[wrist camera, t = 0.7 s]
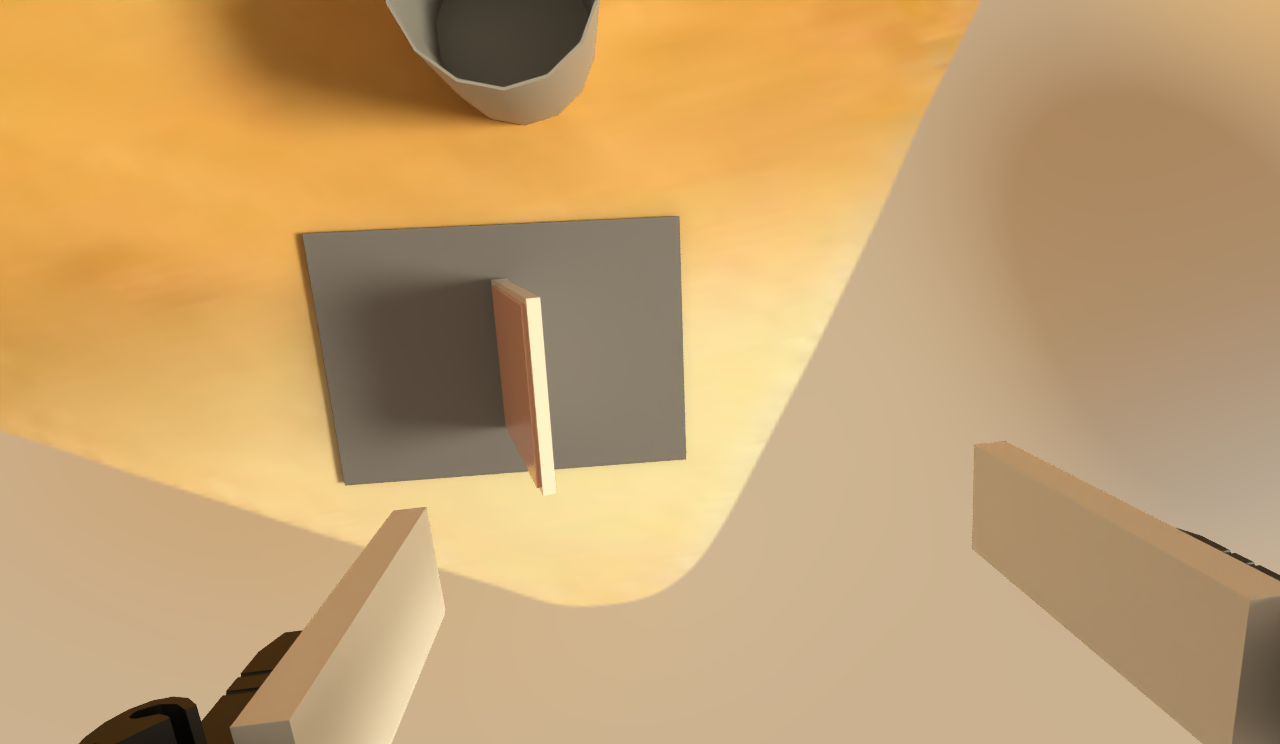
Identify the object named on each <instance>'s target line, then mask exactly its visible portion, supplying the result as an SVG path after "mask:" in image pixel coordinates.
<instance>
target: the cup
mask: <svg viewBox="0 0 1280 744" xmlns="http://www.w3.org/2000/svg"><path fill="white" fill-rule="evenodd" d="M599 2H600V0H386V4H387V6H388V8H389V9H390V11H391V13H392V14H393V16H394V18H395V20H396V21H397V23H398V25H399V26H400V28H401V30H402V31H403V33H404V35H405V36H406V38H407V40H408V41H409V43H410V45H411V46H412V48H413V50H414V51H415V52H416V53H417V54H418V55H419V56H420V57H421V58H422V59H423V60H424V61H425V62H426V63H427V64H428V65H429V66H430V67H431V68H432V69H433V70H434V71H435V72H436V73H437V74H438V75H439V76H440V77H441V78H442V79H443V80H444V81H445V82H446V83H447V84H448V85H449V86H450V87H451V88H452V89H453V90H454V91H455V92H456V93H457V94H458V95H459V96H460V97H461V98H462V99H463V100H465V101H466V102H468V103H469V104H470V105H472V106H473V107H475V108H476V109H477V110H479V111H480V112H482V113H483V114H484V115H486V116H487V117H488V118H490V119H493V120H499V121H504V122H509V123H515V124H520V125H528V124H531V123H534V122H538V121H541V120H544V119H548V118H551V117H554V116H557V115H558V114H560V113H561V112H562V111H563V110H564V109H565V108H566V107H567V106H568V105H569V104H570V103H571V102H572V101H573V100H574V99H575V98H576V97H577V96H578V95H579V94H580V93H581V92H582V90H583V88H584V85H585V82H586V79H587V76H588V74H589V71H590V68H591V65H592V63H593V60H594V56H595V45H596V34H597V23H598V13H599Z"/></svg>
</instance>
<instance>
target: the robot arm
mask: <svg viewBox="0 0 1280 744" xmlns="http://www.w3.org/2000/svg"><path fill="white" fill-rule="evenodd" d="M973 485H974V486H973V532H972V549H973V550H974V551H975V552H977V553H978V554H979V555H980V556H981V557H983V558H984V559H985V560H986V561H987V562H988V563H990V564H991V565H992V566H993V567H994V568H996V569H997V570H998V571H999V572H1000V573H1002V574H1003V575H1004V576H1005V577H1006V578H1007V579H1009V580H1010V581H1011V582H1012V583H1013V584H1015V585H1016V586H1017V587H1018V588H1019V589H1020V590H1022V591H1023V592H1024V593H1025V594H1026V595H1028V596H1029V597H1030V598H1031V599H1032V600H1033V601H1035V602H1036V603H1037V604H1038V605H1039V606H1040V607H1042V608H1043V609H1044V610H1045V611H1046V612H1048V613H1049V614H1050V615H1051V616H1052V617H1054V618H1055V619H1056V620H1057V621H1058V622H1059V623H1061V624H1062V625H1063V626H1064V627H1065V628H1067V629H1068V630H1069V631H1070V632H1071V633H1073V634H1074V635H1075V636H1076V637H1077V638H1078V639H1080V640H1081V641H1082V642H1083V643H1084V644H1086V645H1087V646H1088V647H1089V648H1090V649H1091V650H1093V651H1094V652H1095V653H1096V654H1097V655H1098V656H1100V657H1101V658H1102V659H1103V660H1104V661H1106V662H1107V663H1108V664H1109V665H1110V666H1112V667H1113V668H1114V669H1115V670H1116V671H1117V672H1119V673H1120V674H1121V675H1122V676H1123V677H1124V678H1126V679H1127V680H1128V681H1129V682H1130V683H1132V684H1133V685H1134V686H1135V687H1137V689H1139V690H1140V691H1141V692H1142V693H1144V694H1145V695H1146V696H1147V697H1148V698H1149V699H1150V700H1152V701H1153V702H1154V703H1155V704H1156V705H1158V706H1159V707H1160V708H1161V709H1162V710H1164V711H1165V712H1166V713H1167V714H1168V715H1170V716H1171V717H1172V718H1173V719H1174V720H1175V721H1176V722H1178V723H1179V724H1180V725H1181V726H1182V727H1184V728H1185V729H1186V730H1187V731H1189V732H1190V733H1191V734H1192V735H1193V736H1194V737H1195V738H1197V739H1198V740H1199V741H1200V742H1201V743H1203V744H1280V575H1278V574H1276V573H1274V572H1272V571H1270V570H1268V569H1266V568H1264V567H1262V566H1260V565H1259V566H1255V564H1254V562H1252V561H1250V560H1248V559H1246V558H1244V557H1242V556H1240V555H1238V554H1236V553H1232V554H1231V552H1230V550H1228V549H1226V548H1224V547H1223V546H1221V545H1219V544H1217V543H1215V542H1213V541H1211V540H1208V539H1207V538H1205V537H1203V536H1200V535H1197V534H1194V533H1191V532H1188V531H1184V530H1181V529H1178V528H1175V527H1173V526H1170V525H1169V524H1167V523H1165V522H1163V521H1161V520H1159V519H1157V518H1155V517H1153V516H1151V515H1149V514H1147V513H1145V512H1143V511H1141V510H1139V509H1137V508H1135V507H1133V506H1131V505H1129V504H1127V503H1126V502H1124V501H1122V500H1120V499H1117V498H1116V497H1114V496H1112V495H1110V494H1108V493H1106V492H1104V491H1102V490H1100V489H1098V488H1096V487H1094V486H1092V485H1090V484H1088V483H1086V482H1084V481H1082V480H1080V479H1078V478H1077V477H1074V476H1073V475H1071V474H1069V473H1067V472H1065V471H1063V470H1061V469H1059V468H1057V467H1055V466H1053V465H1051V464H1049V463H1047V462H1045V461H1043V460H1041V459H1039V458H1037V457H1035V456H1033V455H1031V454H1029V453H1027V452H1025V451H1024V450H1022V449H1020V448H1018V447H1016V446H1014V445H1012V444H1010V443H1008V442H1006V441H1001V442H993V443H984V444H976V445H974V481H973ZM444 615H445V606H444V601H443V595H442V590H441V585H440V579H439V573H438V568H437V562H436V557H435V551H434V546H433V540H432V535H431V529H430V524H429V518H428V513H427V507H421V508H413V509H404V510H395V511H393V512H392V513H391V514H390V516H389V517H388V518H387V520H386V521H385V522H384V524H383V525H382V526H381V528H380V529H379V530H378V532H377V533H376V534H375V536H374V537H373V538H372V540H371V541H370V542H369V544H368V545H367V546H366V548H365V549H364V550H363V552H362V553H361V554H360V556H359V557H358V558H357V560H356V561H355V562H354V564H353V565H352V566H351V567H350V569H349V570H348V571H347V573H346V574H345V575H344V577H343V578H342V579H341V581H340V582H339V583H338V585H337V586H336V587H335V589H334V590H333V591H332V593H331V594H330V595H329V597H328V598H327V599H326V601H325V602H324V603H323V605H322V606H321V607H320V609H319V610H318V611H317V613H316V614H315V615H314V617H313V618H312V619H311V620H310V622H309V623H308V625H307V626H306V627H305V628H304V630H302V631H294V632H286V633H284V634H282V635H281V636H280V637H278V638H277V639H275V640H274V641H273V642H271V643H270V644H269V645H267V646H266V647H265V648H263V649H262V650H261V651H259V652H258V653H257V655H256V656H255V657H254V658H253V660H252V661H251V662H250V663H249V664H248V665H247V667H246V668H245V669H244V670H243V672H242V673H241V677H238V678H237V679H236V680H235V681H234V682H233V684H232V685H231V686H230V687H229V689H228V690H227V691H226V692H227V693H226V695H225V696H222V697H221V698H220V699H219V701H218V702H217V703H216V704H215V706H214V707H213V708H212V709H211V711H210V712H209V713H208V714H207V715H206V717H205V718H204V719H203V720H202V721H201V720H200V716H199V713H198V709H197V706H196V704H195V703H193V702H192V701H191V700H190V699H189V698H182V697H169V698H164V699H158V700H153V701H150V702H147V703H145V704H142V705H139V706H137V707H134V708H131V709H129V710H127V711H125V712H123V713H121V714H120V715H118V716H116V717H114V718H112V719H111V720H108V721H107V722H105V723H104V724H102V725H101V726H99V727H98V728H97V729H95V730H94V731H93V732H91V733H90V734H89V735H87V736H86V737H85V738H84V739H83V740H82V741H81V742H80V743H79V744H391V743H392V741H393V738H394V736H395V733H396V731H397V729H398V726H399V724H400V721H401V719H402V716H403V714H404V711H405V709H406V707H407V704H408V702H409V700H410V697H411V695H412V692H413V690H414V687H415V685H416V683H417V680H418V678H419V675H420V673H421V670H422V668H423V665H424V663H425V661H426V658H427V656H428V653H429V651H430V649H431V646H432V644H433V641H434V639H435V637H436V634H437V632H438V629H439V627H440V624H441V622H442V620H443V617H444Z"/></svg>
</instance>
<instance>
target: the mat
mask: <svg viewBox="0 0 1280 744" xmlns="http://www.w3.org/2000/svg"><path fill="white" fill-rule="evenodd" d="M302 235H303V241H304V247H305V253H306V259H307V265H308V270H309V276H310V282H311V288H312V294H313V300H314V306H315V312H316V317H317V323H318V329H319V335H320V341H321V347H322V353H323V359H324V365H325V370H326V376H327V382H328V388H329V394H330V400H331V406H332V412H333V417H334V423H335V429H336V435H337V441H338V447H339V453H340V459H341V465H342V470H343V476H344V482H345V485H357V484H370V483H383V482H396V481H409V480H422V479H435V478H448V477H461V476H474V475H487V474H500V473H513V472H526V471H528V469H527V468H526V466H525V464H524V462H523V460H522V458H521V456H520V454H519V452H518V450H517V448H516V446H515V444H514V443H513V441H512V439H511V437H510V435H509V433H508V432H507V431H506V426H505V416H504V406H503V396H502V386H501V376H500V366H499V356H498V346H497V336H496V326H495V316H494V306H493V296H492V287H491V286H492V285H491V279H499V278H507V280H508V281H510V282H512V283H513V284H515V285H517V286H519V287H521V288H523V289H525V290H527V291H529V292H531V293H533V294H535V295H536V296H538V297H540V302H541V314H542V326H543V338H544V350H545V363H546V375H547V387H548V399H549V411H550V423H551V435H552V448H553V460H554V469H565V468H578V467H592V466H605V465H618V464H631V463H644V462H657V461H670V460H683V459H686V438H685V402H684V366H683V330H682V293H681V257H680V221H679V216H674V217H653V218H631V219H609V220H587V221H565V222H543V223H521V224H499V225H477V226H456V227H434V228H412V229H390V230H368V231H346V232H324V233H303V234H302Z"/></svg>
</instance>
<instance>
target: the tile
mask: <svg viewBox="0 0 1280 744" xmlns="http://www.w3.org/2000/svg"><path fill="white" fill-rule="evenodd" d="M491 285H492V286H491V287H492V296H493V306H494V316H495V326H496V336H497V346H498V356H499V366H500V376H501V386H502V396H503V406H504V416H505V426H506V431H507V432H508V433H509V435H510V437H511V439H512V441H513V443H514V444H515V446H516V448H517V450H518V452H519V454H520V456H521V458H522V460H523V462H524V464H525V466H526V468H527V469H528V471H529V473H530V475H531V477H532V479H533V481H534V483H535V485H536V487H537V488H540V490H541V492H542V494H543V496H545V495H550V494H555V493H556V484H555V472H554V460H553V448H552V435H551V423H550V411H549V399H548V387H547V375H546V363H545V350H544V338H543V326H542V314H541V302H540V297H538V296H536V295H535V294H533V293H531V292H529V291H527V290H525V289H523V288H521V287H519V286H517V285H515V284H513V283H512V282H510V281H508V280H507V278H499V279H491Z"/></svg>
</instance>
